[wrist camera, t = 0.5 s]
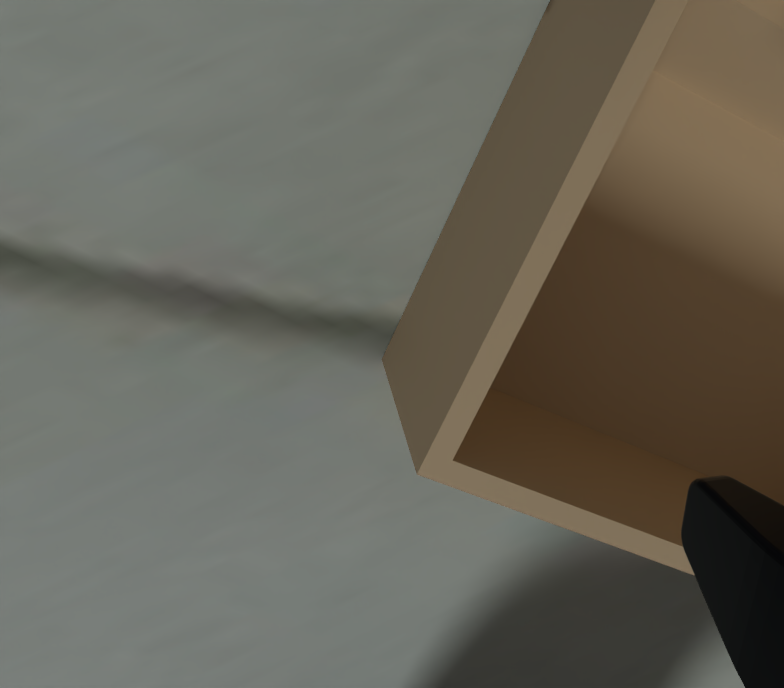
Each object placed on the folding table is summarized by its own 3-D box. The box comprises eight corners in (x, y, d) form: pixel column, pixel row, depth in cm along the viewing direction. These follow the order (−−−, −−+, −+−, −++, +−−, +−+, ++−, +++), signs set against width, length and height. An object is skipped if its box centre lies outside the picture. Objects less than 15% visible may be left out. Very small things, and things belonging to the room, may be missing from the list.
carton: (810, 530, 28) (997, 686, 20) (381, 359, 24) (417, 474, 16) (1001, 242, 25) (1299, 299, 18) (552, -6, 21) (689, -69, 14)
